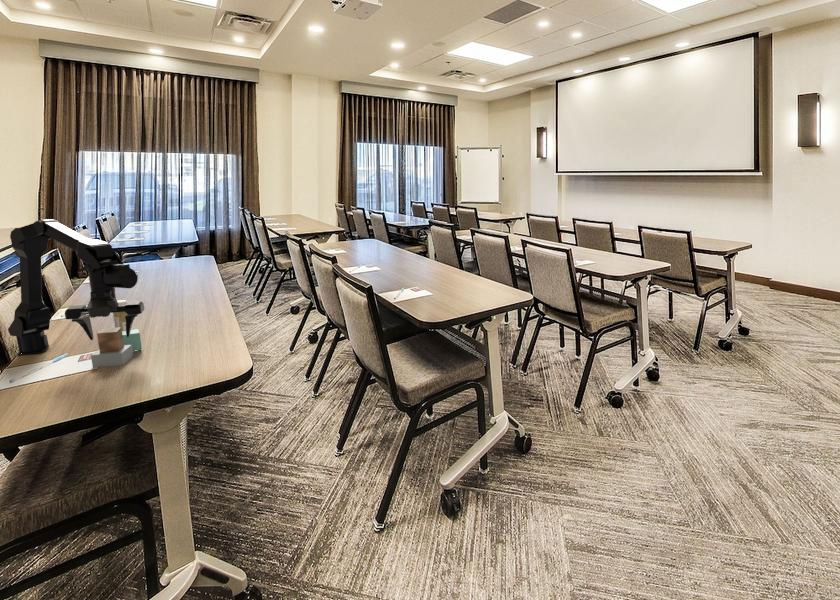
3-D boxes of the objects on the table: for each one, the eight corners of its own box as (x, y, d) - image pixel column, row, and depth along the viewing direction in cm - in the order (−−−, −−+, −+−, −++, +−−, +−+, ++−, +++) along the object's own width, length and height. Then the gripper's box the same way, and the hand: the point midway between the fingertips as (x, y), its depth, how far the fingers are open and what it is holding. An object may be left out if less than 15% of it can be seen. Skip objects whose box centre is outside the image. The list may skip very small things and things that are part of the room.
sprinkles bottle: (132, 339, 161) (127, 301, 158) (116, 341, 159) (110, 303, 156) (131, 336, 165) (126, 298, 162) (116, 338, 163) (110, 300, 160)
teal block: (123, 353, 147) (121, 335, 146) (122, 349, 151) (119, 331, 150) (142, 350, 150) (139, 332, 149) (140, 346, 154) (138, 329, 153)
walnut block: (99, 353, 137) (96, 333, 136) (105, 347, 142) (102, 328, 140) (119, 351, 138) (116, 331, 137) (124, 346, 143) (121, 327, 142)
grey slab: (93, 368, 136) (90, 355, 135) (104, 358, 144) (102, 346, 143) (123, 366, 138) (121, 353, 137) (133, 356, 145) (131, 344, 144)
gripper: (53, 294, 125) (63, 350, 128) (133, 289, 131) (140, 342, 135) (67, 286, 135) (76, 338, 139) (141, 282, 142) (147, 332, 145)
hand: (110, 338), depth 139 cm, fingers open, 9 cm apart
